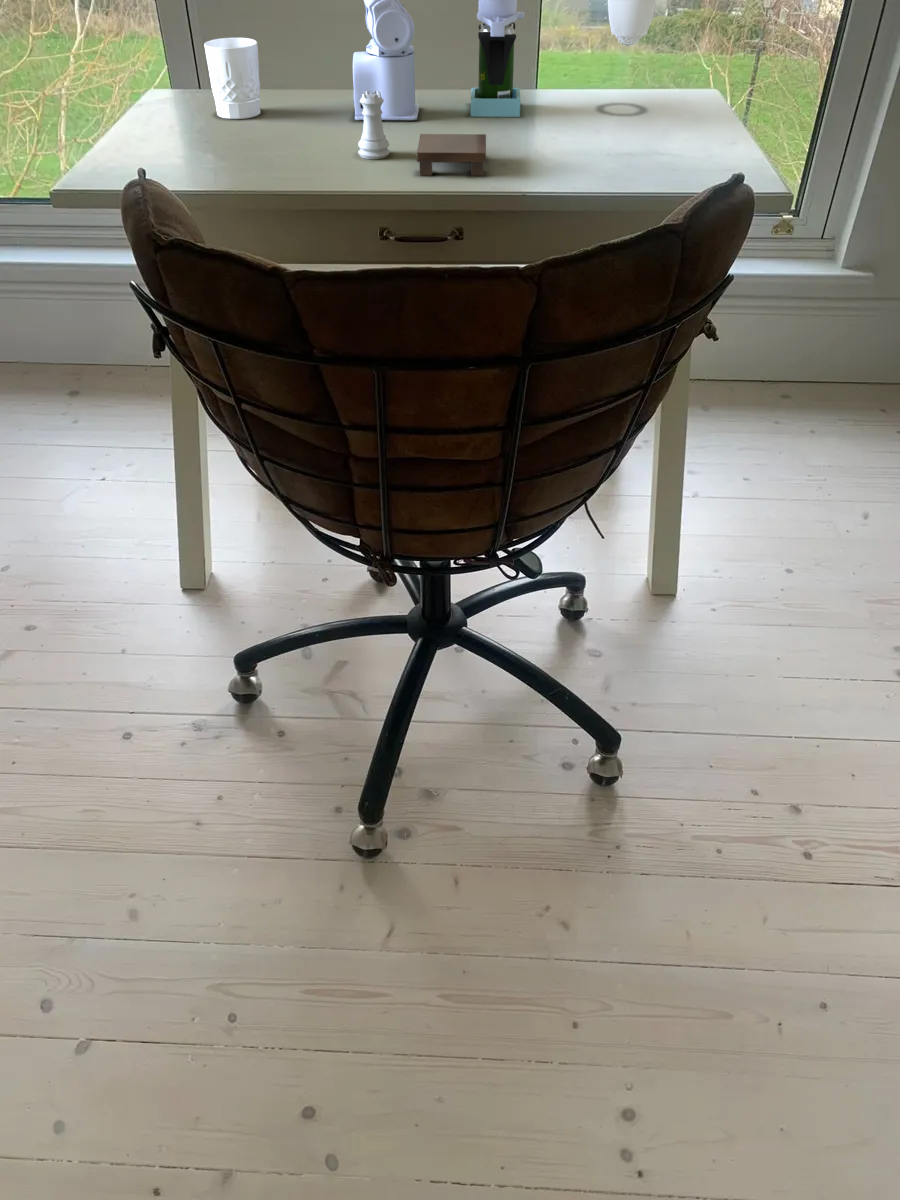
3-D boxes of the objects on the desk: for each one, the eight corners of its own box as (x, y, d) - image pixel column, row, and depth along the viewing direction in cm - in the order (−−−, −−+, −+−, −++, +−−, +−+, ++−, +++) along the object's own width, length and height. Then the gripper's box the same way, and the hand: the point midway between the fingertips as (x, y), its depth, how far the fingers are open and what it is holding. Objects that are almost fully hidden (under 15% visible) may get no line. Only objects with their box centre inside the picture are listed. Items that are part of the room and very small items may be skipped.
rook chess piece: (394, 158, 145) (392, 95, 140) (363, 161, 144) (359, 98, 139) (384, 149, 149) (382, 88, 144) (354, 152, 147) (350, 90, 143)
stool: (417, 176, 139) (416, 152, 137) (420, 156, 146) (420, 133, 144) (485, 176, 139) (485, 152, 137) (485, 157, 146) (486, 134, 144)
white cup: (274, 111, 166) (267, 40, 159) (244, 122, 160) (236, 50, 154) (233, 105, 168) (225, 35, 162) (203, 116, 163) (193, 45, 157)
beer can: (519, 110, 165) (522, 25, 158) (493, 116, 163) (495, 29, 155) (496, 104, 169) (498, 20, 161) (471, 109, 166) (471, 24, 159)
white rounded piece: (654, 110, 165) (671, -43, 152) (619, 117, 162) (633, -39, 149) (624, 101, 170) (637, -49, 157) (589, 107, 167) (600, -45, 154)
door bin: (470, 116, 163) (471, 99, 161) (471, 104, 169) (471, 87, 167) (519, 116, 163) (520, 99, 161) (518, 104, 169) (519, 87, 167)
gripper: (527, -13, 149) (523, 91, 157) (524, -29, 160) (520, 69, 169) (477, -14, 149) (475, 91, 157) (477, -29, 160) (476, 69, 169)
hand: (495, 80), depth 163 cm, fingers closed on beer can, 5 cm apart
